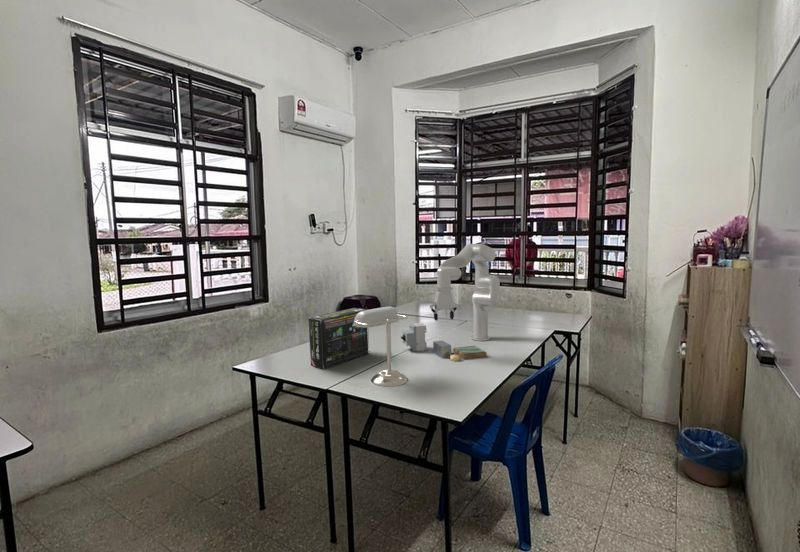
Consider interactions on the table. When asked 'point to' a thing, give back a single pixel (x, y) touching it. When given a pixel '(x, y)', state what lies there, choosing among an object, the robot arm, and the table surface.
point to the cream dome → (454, 357)
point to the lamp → (387, 317)
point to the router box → (336, 338)
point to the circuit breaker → (415, 337)
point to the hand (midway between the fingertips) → (443, 319)
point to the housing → (441, 349)
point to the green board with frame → (469, 352)
